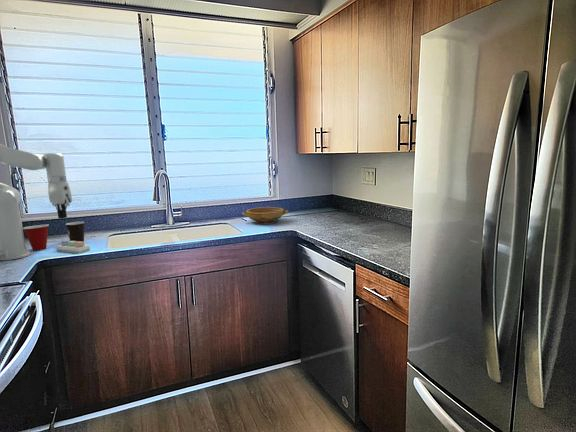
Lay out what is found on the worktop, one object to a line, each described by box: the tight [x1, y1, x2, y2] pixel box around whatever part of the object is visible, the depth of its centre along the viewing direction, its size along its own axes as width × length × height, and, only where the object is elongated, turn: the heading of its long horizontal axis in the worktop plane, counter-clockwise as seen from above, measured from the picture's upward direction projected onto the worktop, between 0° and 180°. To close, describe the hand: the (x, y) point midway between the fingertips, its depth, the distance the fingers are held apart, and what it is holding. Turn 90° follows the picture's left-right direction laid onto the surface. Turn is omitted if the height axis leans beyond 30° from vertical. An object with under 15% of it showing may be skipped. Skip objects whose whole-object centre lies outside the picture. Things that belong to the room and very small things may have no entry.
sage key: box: [68, 241, 77, 246], centre depth 177 cm, size 2×3×2 cm
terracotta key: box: [75, 241, 85, 247], centre depth 176 cm, size 2×3×2 cm
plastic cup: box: [23, 223, 50, 251], centre depth 182 cm, size 11×11×12 cm
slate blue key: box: [60, 239, 70, 246], centre depth 179 cm, size 2×3×2 cm
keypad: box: [56, 244, 91, 254], centre depth 178 cm, size 6×15×2 cm, turn 68°
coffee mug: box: [65, 221, 85, 242], centre depth 194 cm, size 12×9×10 cm
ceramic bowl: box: [241, 206, 289, 225], centre depth 235 cm, size 30×24×8 cm
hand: (62, 217), depth 177 cm, fingers closed
